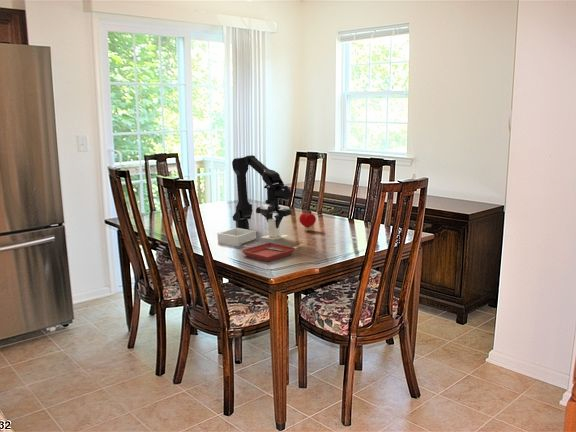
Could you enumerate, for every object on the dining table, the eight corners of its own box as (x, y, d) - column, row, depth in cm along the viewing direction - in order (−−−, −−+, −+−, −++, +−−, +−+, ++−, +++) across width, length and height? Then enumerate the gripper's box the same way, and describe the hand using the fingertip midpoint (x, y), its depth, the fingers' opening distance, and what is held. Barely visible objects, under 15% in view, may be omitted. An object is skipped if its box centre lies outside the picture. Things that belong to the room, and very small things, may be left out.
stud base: (260, 239, 287) (260, 229, 286) (272, 235, 294) (272, 225, 293) (276, 241, 281) (275, 231, 280) (287, 237, 289) (287, 227, 288)
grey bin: (217, 242, 282) (217, 233, 281) (236, 237, 292) (235, 227, 291) (238, 246, 274) (237, 236, 273) (256, 240, 284) (255, 230, 283)
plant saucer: (240, 256, 258) (240, 249, 257) (269, 248, 270) (269, 241, 269) (267, 264, 245) (267, 256, 244) (296, 255, 257) (296, 248, 257)
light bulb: (318, 231, 300) (318, 212, 298) (312, 234, 294) (312, 215, 292) (303, 229, 304) (302, 211, 302) (296, 232, 299) (296, 214, 296)
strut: (268, 236, 287) (268, 219, 285) (273, 235, 290) (272, 218, 288) (274, 237, 285) (274, 220, 283) (279, 236, 288) (279, 218, 286)
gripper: (248, 198, 282) (249, 228, 286) (277, 201, 271) (278, 233, 275) (262, 195, 291) (263, 224, 294) (291, 198, 280) (292, 228, 283)
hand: (273, 227), depth 286 cm, fingers closed on strut, 4 cm apart
